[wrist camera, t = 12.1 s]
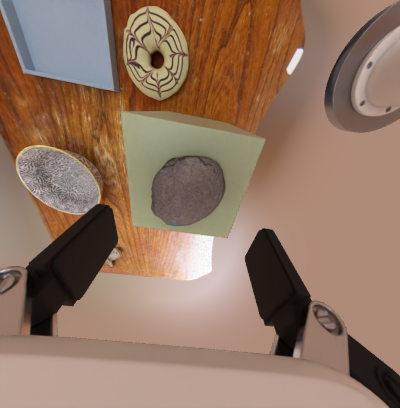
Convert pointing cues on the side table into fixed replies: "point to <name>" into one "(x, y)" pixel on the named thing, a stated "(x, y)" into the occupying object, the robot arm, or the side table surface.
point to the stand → (186, 146)
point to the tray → (64, 40)
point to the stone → (187, 190)
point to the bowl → (60, 178)
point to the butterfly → (113, 256)
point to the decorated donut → (149, 44)
